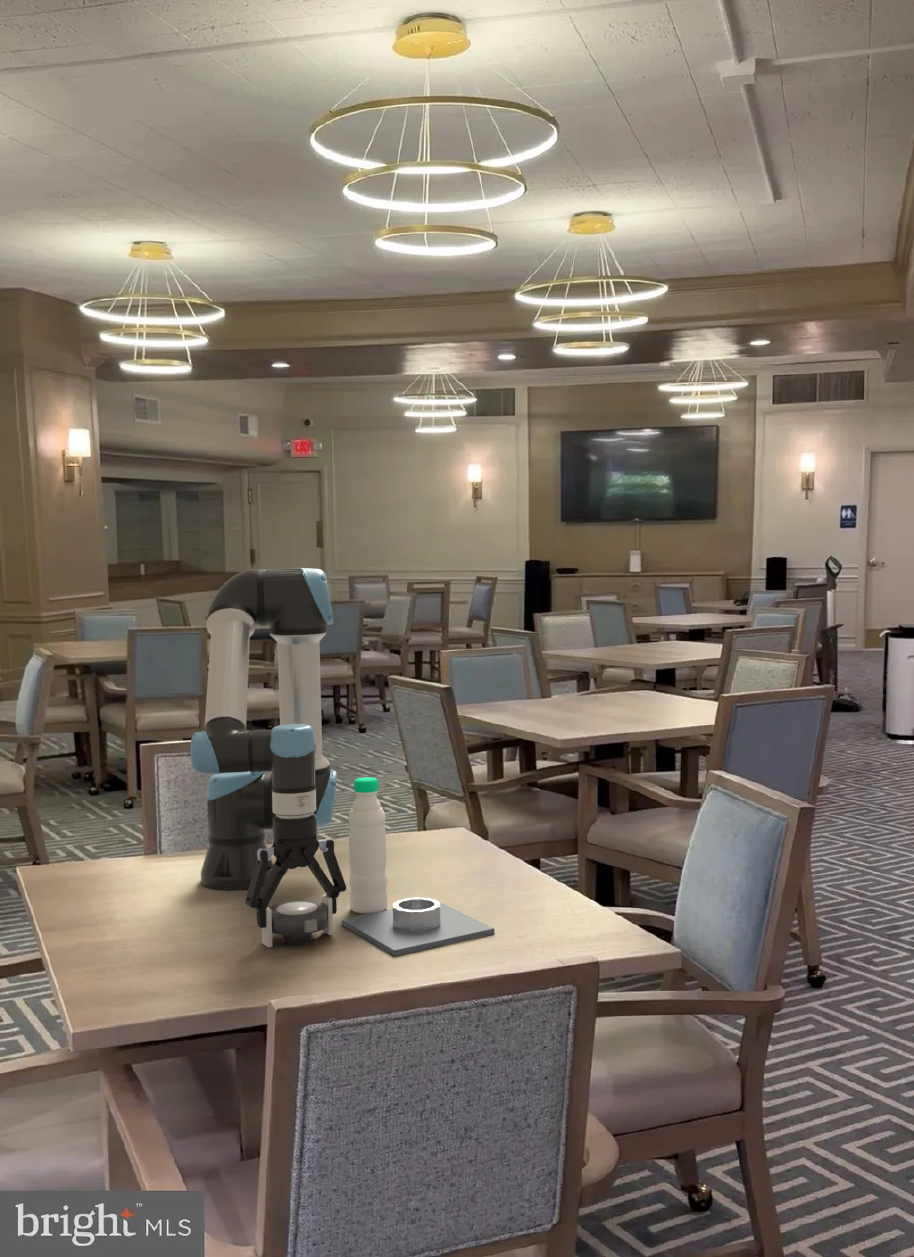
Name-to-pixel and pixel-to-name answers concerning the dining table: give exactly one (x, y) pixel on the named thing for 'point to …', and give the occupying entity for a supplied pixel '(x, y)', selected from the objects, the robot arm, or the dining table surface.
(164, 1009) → the dining table surface
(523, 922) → the dining table surface
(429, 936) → the slate board
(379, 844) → the water bottle
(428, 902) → the grey hollow ring
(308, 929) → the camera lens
